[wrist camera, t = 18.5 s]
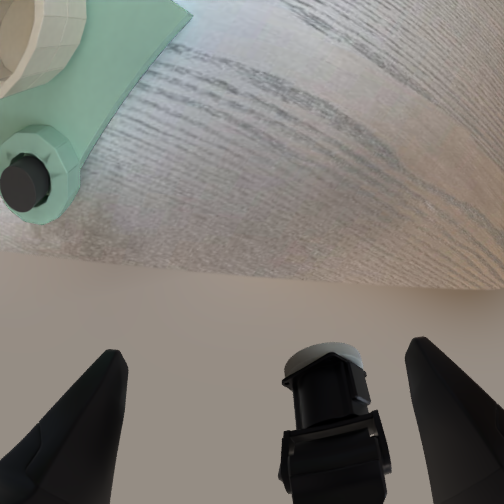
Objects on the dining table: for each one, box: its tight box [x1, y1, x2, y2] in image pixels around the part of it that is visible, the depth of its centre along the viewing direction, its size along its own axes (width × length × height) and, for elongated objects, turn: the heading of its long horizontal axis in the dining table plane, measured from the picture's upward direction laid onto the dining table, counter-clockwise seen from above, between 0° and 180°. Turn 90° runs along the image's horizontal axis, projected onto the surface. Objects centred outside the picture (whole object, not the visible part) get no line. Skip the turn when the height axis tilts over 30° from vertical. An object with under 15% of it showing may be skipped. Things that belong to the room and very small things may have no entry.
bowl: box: [0, 0, 87, 100], centre depth 9 cm, size 7×7×4 cm
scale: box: [0, 0, 193, 225], centre depth 12 cm, size 15×13×3 cm
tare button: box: [0, 156, 50, 212], centre depth 14 cm, size 3×3×2 cm
